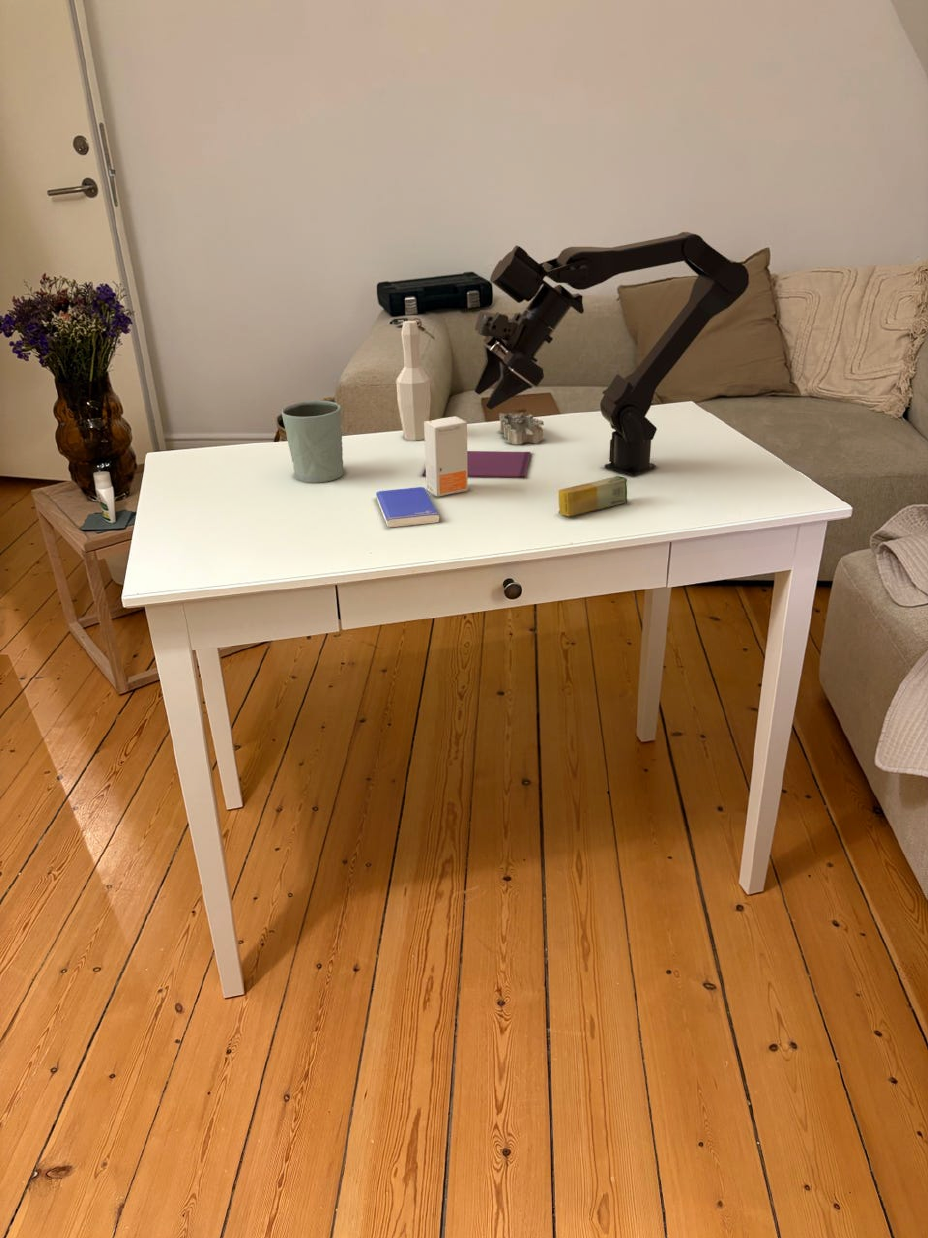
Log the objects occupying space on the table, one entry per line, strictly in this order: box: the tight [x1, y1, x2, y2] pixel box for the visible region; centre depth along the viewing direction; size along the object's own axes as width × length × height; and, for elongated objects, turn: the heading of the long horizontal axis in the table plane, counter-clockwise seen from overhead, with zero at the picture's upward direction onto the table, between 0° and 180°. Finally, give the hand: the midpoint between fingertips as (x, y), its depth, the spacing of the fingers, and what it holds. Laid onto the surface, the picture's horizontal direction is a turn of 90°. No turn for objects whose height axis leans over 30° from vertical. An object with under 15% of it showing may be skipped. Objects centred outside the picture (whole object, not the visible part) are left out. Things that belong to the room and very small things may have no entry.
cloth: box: [421, 450, 531, 479], centre depth 175 cm, size 18×13×1 cm
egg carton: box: [498, 412, 545, 446], centre depth 188 cm, size 11×8×4 cm
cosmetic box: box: [424, 416, 469, 498], centre depth 161 cm, size 6×4×12 cm
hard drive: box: [375, 486, 440, 528], centre depth 156 cm, size 2×8×12 cm
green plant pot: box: [281, 400, 344, 484], centre depth 170 cm, size 10×10×12 cm
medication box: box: [557, 475, 628, 517], centre depth 153 cm, size 12×3×4 cm, turn 121°
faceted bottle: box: [395, 320, 432, 441], centre depth 185 cm, size 6×6×22 cm
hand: (482, 400), depth 160 cm, fingers open, 9 cm apart
